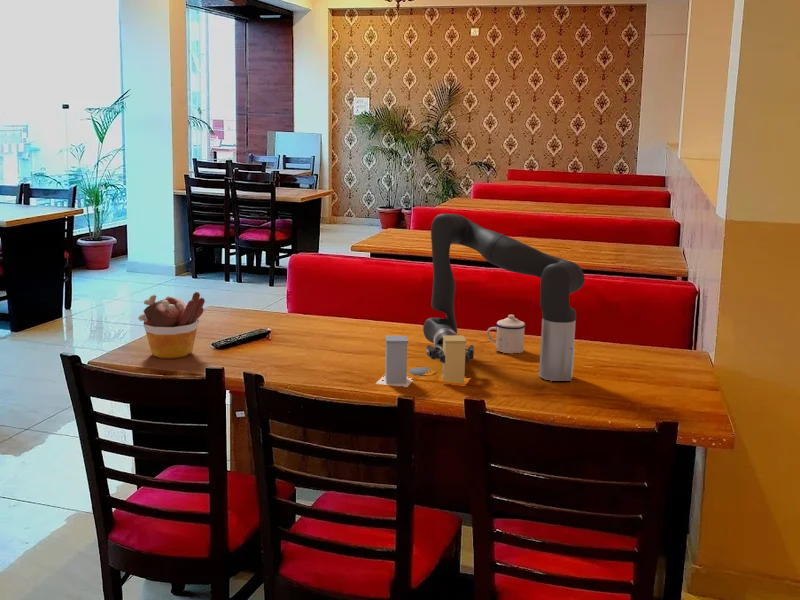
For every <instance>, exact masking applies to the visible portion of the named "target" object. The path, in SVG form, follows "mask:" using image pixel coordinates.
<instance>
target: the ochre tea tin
mask: <svg viewBox="0 0 800 600" xmlns="http://www.w3.org/2000/svg"><path fill="white" fill-rule="evenodd" d="M466 345H467V339H466V337H465V336H464V335H463V334H462V335H461V334H460V335H458V334H457V335H448V336H443V352H444V354H445V363H442V362H441V364H442V368H441V374H442V378H443V380H444V383H446V382H447V383H449V382H452V383H464V377H466V376H465V374H466V372H465V371H466V369H465V368H466V363H465V350H466V348H467V346H466Z"/></svg>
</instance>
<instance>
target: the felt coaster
mask: <svg viewBox="0 0 800 600" xmlns="http://www.w3.org/2000/svg"><path fill="white" fill-rule="evenodd" d="M430 368H431V367H430ZM430 368H429V367H424V366H423V367H422V366H421V367H418V366H417V367H412V368H410V369H409V370H408V374H410V373H411V374H410V375H412V374H413V375H412V376H417V375H419V376H420V377H424V376H423V374H425V372H426V373H428V372H427V371H429V370H431V369H432V368H431V369H430ZM428 369H429V370H428ZM430 372H431V371H430ZM419 376H418V377H419Z"/></svg>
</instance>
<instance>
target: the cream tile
mask: <svg viewBox="0 0 800 600" xmlns="http://www.w3.org/2000/svg"><path fill="white" fill-rule="evenodd" d="M383 376H384V375H383ZM383 376H381V378H379V379H378V380H377V381H376V383H375V385H382V386H383V385H384V386H393V387H401V386H403V387H402V388H408V387H409V386H410V384H412V382H413V381H414V380H411V379H412V378H408V377H409V376H407V380H406V384H386V379H385V376H384V377H383ZM382 380H384V381H382ZM407 381H410V382H407Z"/></svg>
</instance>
